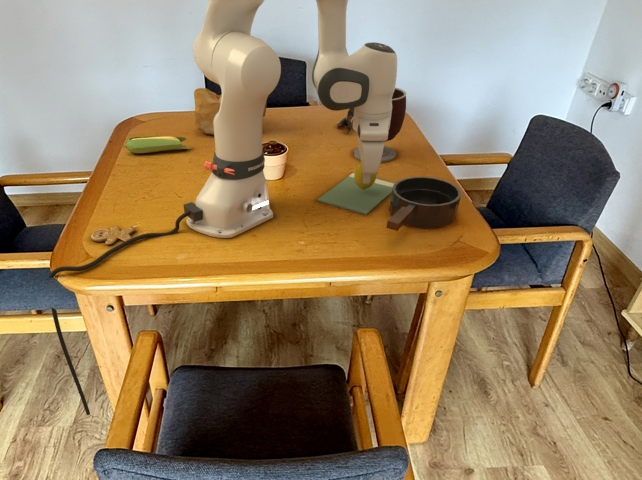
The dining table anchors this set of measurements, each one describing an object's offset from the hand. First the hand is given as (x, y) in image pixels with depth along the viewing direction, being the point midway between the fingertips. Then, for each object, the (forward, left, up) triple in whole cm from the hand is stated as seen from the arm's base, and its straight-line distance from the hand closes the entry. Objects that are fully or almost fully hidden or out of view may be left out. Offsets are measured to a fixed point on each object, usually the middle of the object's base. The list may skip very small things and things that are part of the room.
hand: (365, 176), depth 136 cm
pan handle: (-15, -17, 0) cm, 23 cm away
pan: (-2, -17, -4) cm, 18 cm away
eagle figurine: (+40, +26, -5) cm, 48 cm away
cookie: (-52, +39, -5) cm, 65 cm away
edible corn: (-7, +66, -5) cm, 66 cm away
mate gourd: (+26, +10, -5) cm, 28 cm away
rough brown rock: (+21, +59, -5) cm, 63 cm away
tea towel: (0, +1, -4) cm, 5 cm away
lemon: (0, 0, -4) cm, 4 cm away
